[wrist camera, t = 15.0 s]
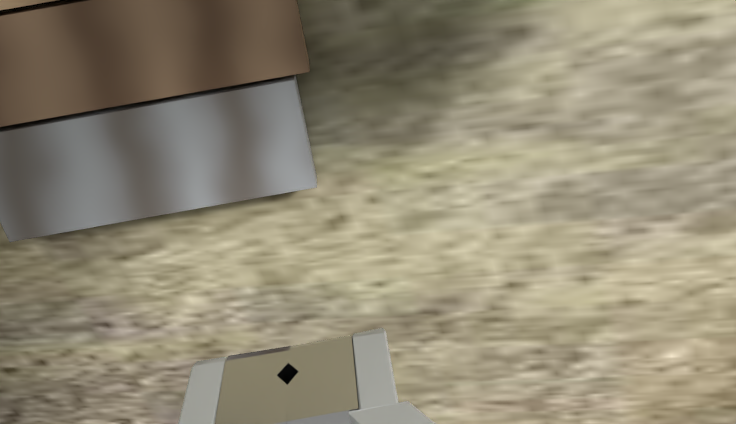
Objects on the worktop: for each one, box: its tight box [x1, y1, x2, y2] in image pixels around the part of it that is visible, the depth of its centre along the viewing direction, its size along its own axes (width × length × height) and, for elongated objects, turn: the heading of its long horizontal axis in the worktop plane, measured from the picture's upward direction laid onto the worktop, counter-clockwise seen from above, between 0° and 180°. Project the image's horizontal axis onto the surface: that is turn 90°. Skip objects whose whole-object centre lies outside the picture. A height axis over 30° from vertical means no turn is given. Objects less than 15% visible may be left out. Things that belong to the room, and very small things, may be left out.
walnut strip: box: [0, 0, 310, 127], centre depth 36 cm, size 22×6×2 cm, turn 99°
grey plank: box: [0, 75, 317, 242], centre depth 39 cm, size 20×7×2 cm, turn 99°
